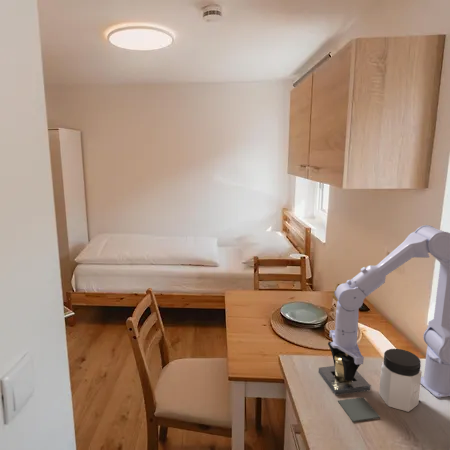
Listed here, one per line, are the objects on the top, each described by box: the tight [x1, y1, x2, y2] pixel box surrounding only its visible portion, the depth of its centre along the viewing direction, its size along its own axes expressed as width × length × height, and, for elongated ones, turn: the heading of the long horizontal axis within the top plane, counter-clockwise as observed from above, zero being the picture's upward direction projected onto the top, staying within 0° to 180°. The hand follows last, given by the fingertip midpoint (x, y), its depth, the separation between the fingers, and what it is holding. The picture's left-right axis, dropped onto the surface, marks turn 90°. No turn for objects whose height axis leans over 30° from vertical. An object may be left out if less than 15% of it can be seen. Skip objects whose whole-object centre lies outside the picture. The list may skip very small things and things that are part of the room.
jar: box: [378, 348, 423, 412], centre depth 86 cm, size 9×8×12 cm
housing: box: [318, 365, 371, 396], centre depth 94 cm, size 10×10×2 cm
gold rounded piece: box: [334, 353, 353, 383], centre depth 94 cm, size 5×5×7 cm
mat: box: [337, 396, 381, 423], centre depth 84 cm, size 7×7×1 cm
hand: (343, 373), depth 94 cm, fingers closed on gold rounded piece, 5 cm apart
